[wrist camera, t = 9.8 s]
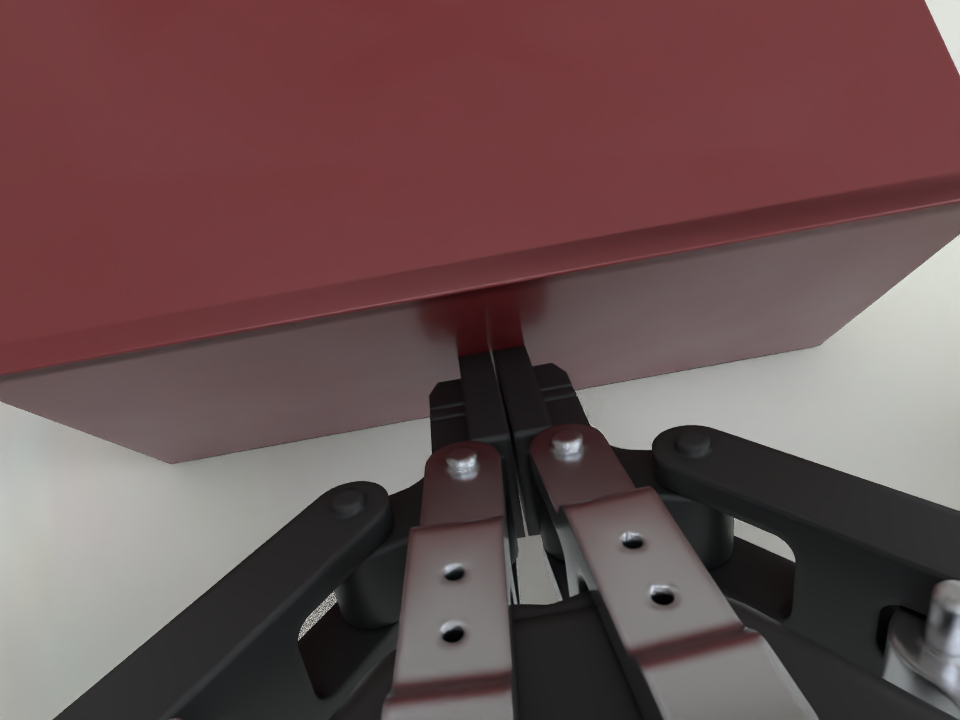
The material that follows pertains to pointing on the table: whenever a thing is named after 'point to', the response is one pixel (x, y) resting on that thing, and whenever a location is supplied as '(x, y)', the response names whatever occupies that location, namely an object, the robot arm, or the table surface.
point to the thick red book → (443, 197)
